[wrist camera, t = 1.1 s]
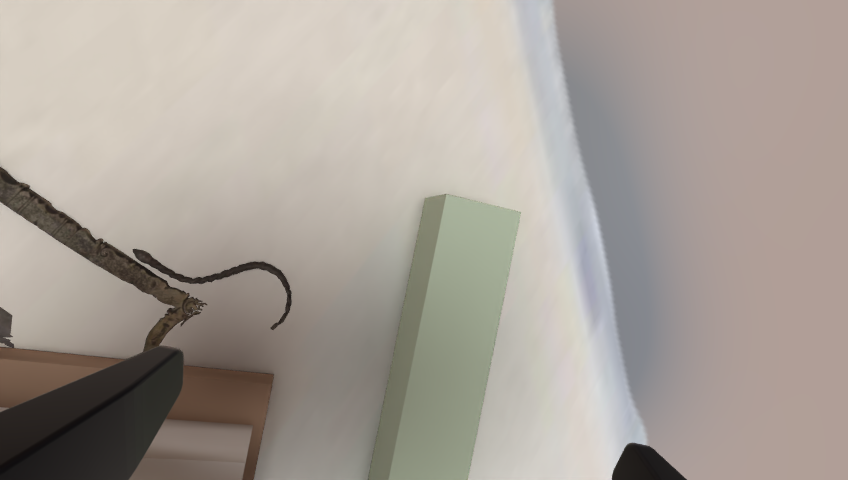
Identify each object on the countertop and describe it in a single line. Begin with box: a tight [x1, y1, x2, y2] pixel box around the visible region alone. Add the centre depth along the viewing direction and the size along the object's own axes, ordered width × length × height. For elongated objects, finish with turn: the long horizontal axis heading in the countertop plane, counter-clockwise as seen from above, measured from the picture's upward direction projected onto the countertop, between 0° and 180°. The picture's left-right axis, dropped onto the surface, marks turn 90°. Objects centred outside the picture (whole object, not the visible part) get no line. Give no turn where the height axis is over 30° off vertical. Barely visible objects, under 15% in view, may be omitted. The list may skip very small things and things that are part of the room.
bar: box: [368, 194, 521, 480], centre depth 24 cm, size 18×4×4 cm, turn 168°
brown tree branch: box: [0, 167, 291, 352], centre depth 20 cm, size 24×10×2 cm, turn 48°
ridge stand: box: [0, 347, 274, 480], centre depth 18 cm, size 7×18×5 cm, turn 79°
